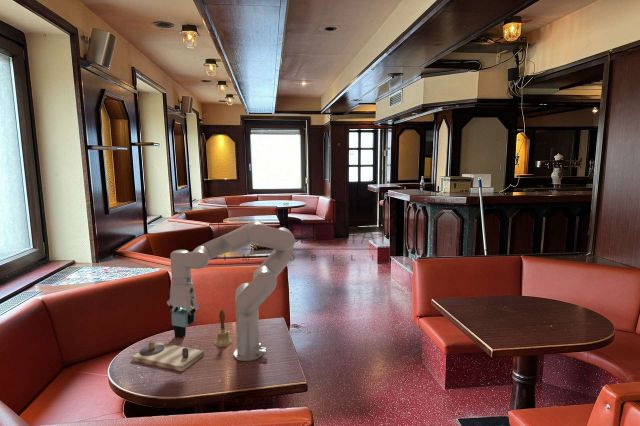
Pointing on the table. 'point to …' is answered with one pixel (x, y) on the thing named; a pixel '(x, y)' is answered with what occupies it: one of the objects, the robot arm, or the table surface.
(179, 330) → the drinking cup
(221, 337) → the hand bell
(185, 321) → the collar
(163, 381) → the table surface
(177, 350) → the base board
